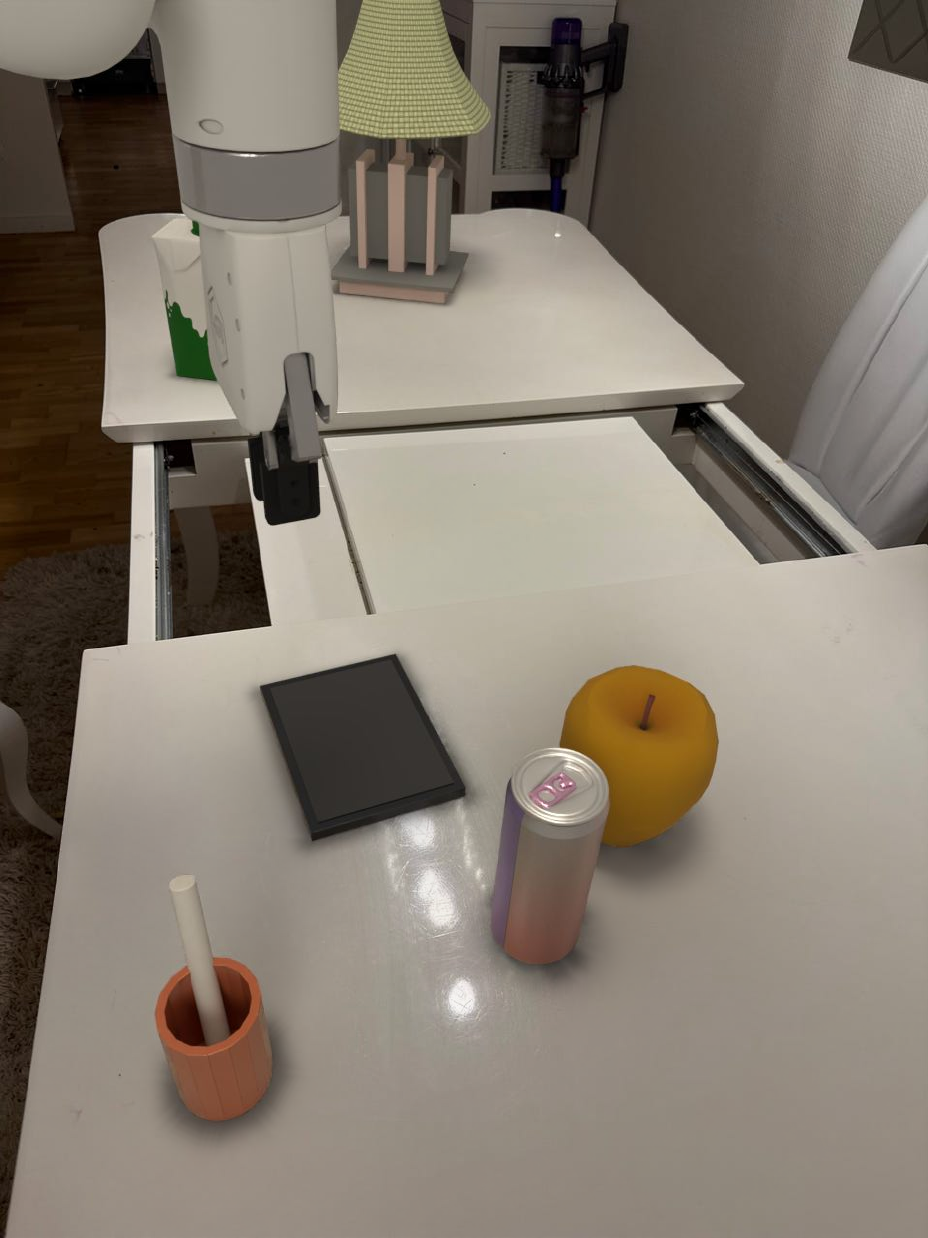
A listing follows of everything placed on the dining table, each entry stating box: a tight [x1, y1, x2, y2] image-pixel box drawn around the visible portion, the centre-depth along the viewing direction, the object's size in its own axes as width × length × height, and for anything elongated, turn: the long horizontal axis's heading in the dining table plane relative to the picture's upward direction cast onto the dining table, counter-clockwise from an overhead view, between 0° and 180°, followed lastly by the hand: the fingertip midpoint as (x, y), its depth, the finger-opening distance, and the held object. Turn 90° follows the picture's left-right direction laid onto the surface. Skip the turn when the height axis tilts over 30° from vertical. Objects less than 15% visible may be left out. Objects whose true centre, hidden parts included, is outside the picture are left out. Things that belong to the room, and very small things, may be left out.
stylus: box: [168, 873, 231, 1047], centre depth 51 cm, size 1×1×13 cm
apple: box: [559, 664, 720, 849], centre depth 65 cm, size 11×11×13 cm
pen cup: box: [154, 956, 274, 1122], centre depth 51 cm, size 5×5×8 cm
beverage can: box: [490, 746, 610, 965], centre depth 57 cm, size 6×6×15 cm
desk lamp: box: [331, 0, 492, 304], centre depth 139 cm, size 26×28×40 cm
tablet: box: [259, 653, 467, 842], centre depth 74 cm, size 12×16×1 cm
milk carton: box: [150, 217, 218, 381], centre depth 118 cm, size 9×9×20 cm
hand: (286, 505), depth 55 cm, fingers closed
